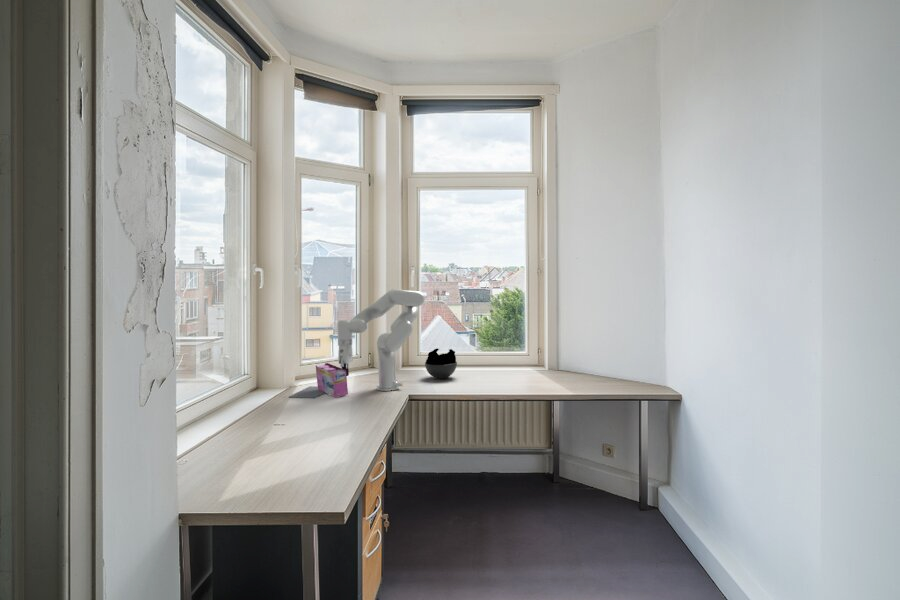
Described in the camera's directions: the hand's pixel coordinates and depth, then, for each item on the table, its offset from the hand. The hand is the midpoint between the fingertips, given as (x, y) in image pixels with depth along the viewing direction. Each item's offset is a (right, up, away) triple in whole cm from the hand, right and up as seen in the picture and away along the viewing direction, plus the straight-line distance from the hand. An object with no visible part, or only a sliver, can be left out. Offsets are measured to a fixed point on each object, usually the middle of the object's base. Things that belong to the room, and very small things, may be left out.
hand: (345, 375), depth 275 cm
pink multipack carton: (-7, -9, +2) cm, 12 cm away
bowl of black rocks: (+52, -8, +38) cm, 65 cm away
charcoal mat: (-19, -10, +4) cm, 22 cm away
